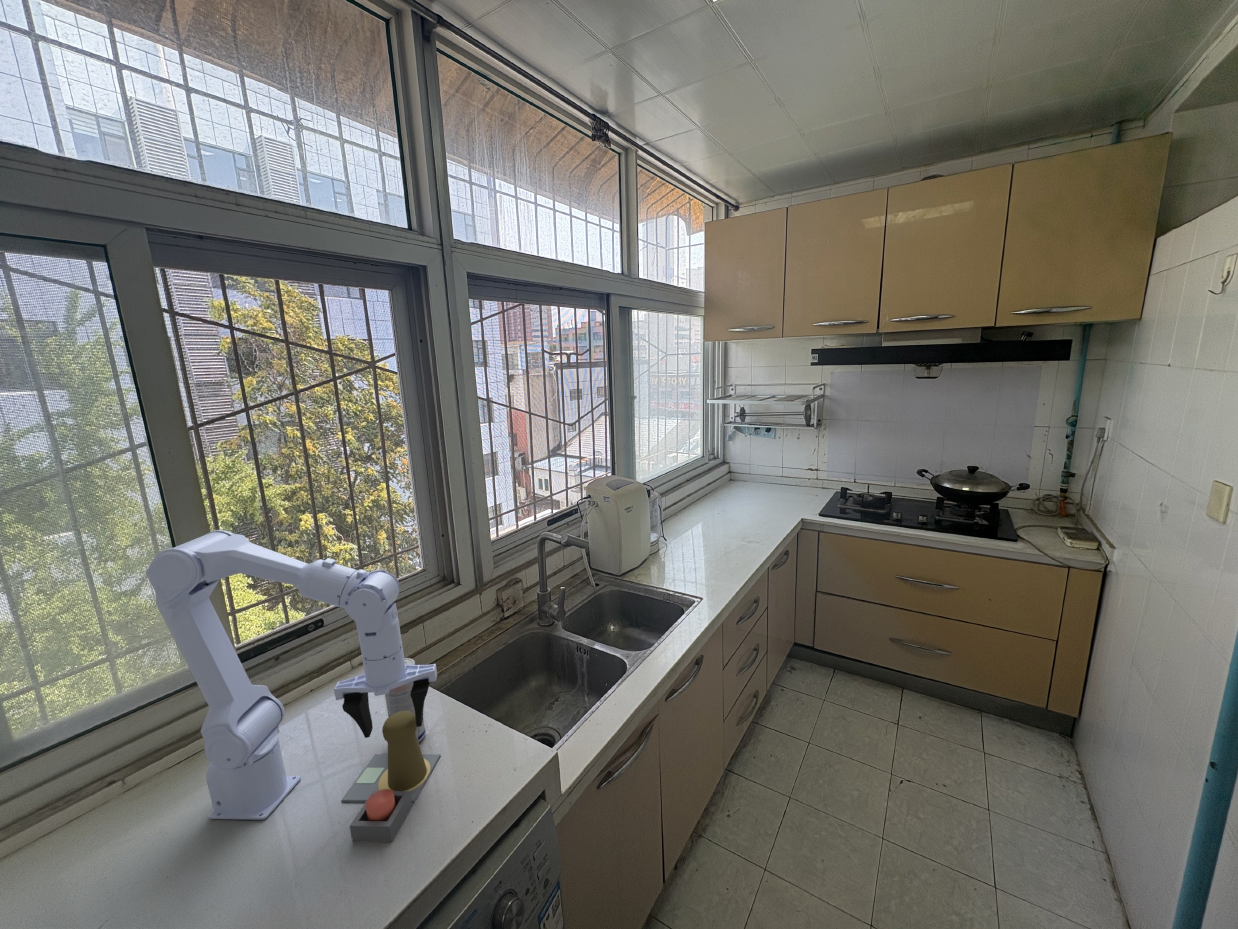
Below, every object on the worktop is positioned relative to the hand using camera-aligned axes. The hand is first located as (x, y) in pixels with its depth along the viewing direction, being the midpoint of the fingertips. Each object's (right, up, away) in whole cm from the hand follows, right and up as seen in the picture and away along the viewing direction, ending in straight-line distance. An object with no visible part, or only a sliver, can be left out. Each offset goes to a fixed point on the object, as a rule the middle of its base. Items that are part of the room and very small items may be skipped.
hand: (394, 728), depth 78 cm
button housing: (+1, -11, -5) cm, 13 cm away
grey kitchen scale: (-2, -10, +3) cm, 11 cm away
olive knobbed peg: (+1, -10, +3) cm, 10 cm away
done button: (+1, -10, -5) cm, 11 cm away
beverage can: (-3, -9, +12) cm, 15 cm away
